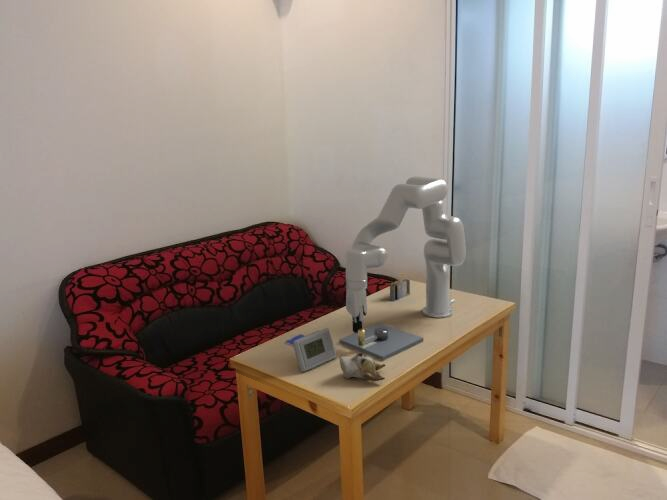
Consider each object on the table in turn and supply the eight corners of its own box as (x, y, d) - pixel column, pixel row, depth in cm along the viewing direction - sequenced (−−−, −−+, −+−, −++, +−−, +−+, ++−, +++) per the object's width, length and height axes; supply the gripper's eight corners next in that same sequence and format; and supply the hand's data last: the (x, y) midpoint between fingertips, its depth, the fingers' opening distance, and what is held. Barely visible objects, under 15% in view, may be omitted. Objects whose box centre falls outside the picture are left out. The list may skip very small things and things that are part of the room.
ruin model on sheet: (395, 302, 250) (395, 281, 247) (390, 301, 252) (389, 280, 249) (410, 295, 257) (410, 275, 255) (405, 294, 260) (405, 274, 257)
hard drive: (285, 340, 210) (307, 349, 202) (301, 333, 216) (323, 342, 207) (285, 344, 211) (307, 353, 202) (301, 337, 216) (323, 346, 208)
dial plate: (379, 326, 223) (379, 321, 222) (423, 341, 207) (423, 336, 207) (339, 342, 208) (339, 338, 208) (383, 360, 193) (383, 355, 192)
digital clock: (300, 374, 185) (299, 345, 183) (288, 364, 193) (286, 336, 190) (342, 361, 193) (341, 333, 191) (328, 352, 201) (327, 325, 198)
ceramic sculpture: (341, 345, 186) (386, 348, 184) (340, 368, 188) (385, 371, 186) (337, 359, 175) (385, 362, 174) (337, 384, 178) (384, 387, 176)
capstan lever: (381, 333, 211) (380, 318, 209) (390, 337, 207) (390, 322, 205) (354, 344, 202) (354, 328, 201) (364, 348, 198) (363, 332, 197)
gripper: (340, 278, 204) (341, 325, 208) (353, 290, 190) (354, 340, 195) (359, 276, 206) (360, 323, 211) (374, 288, 192) (374, 337, 197)
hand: (357, 331), depth 203 cm, fingers closed
